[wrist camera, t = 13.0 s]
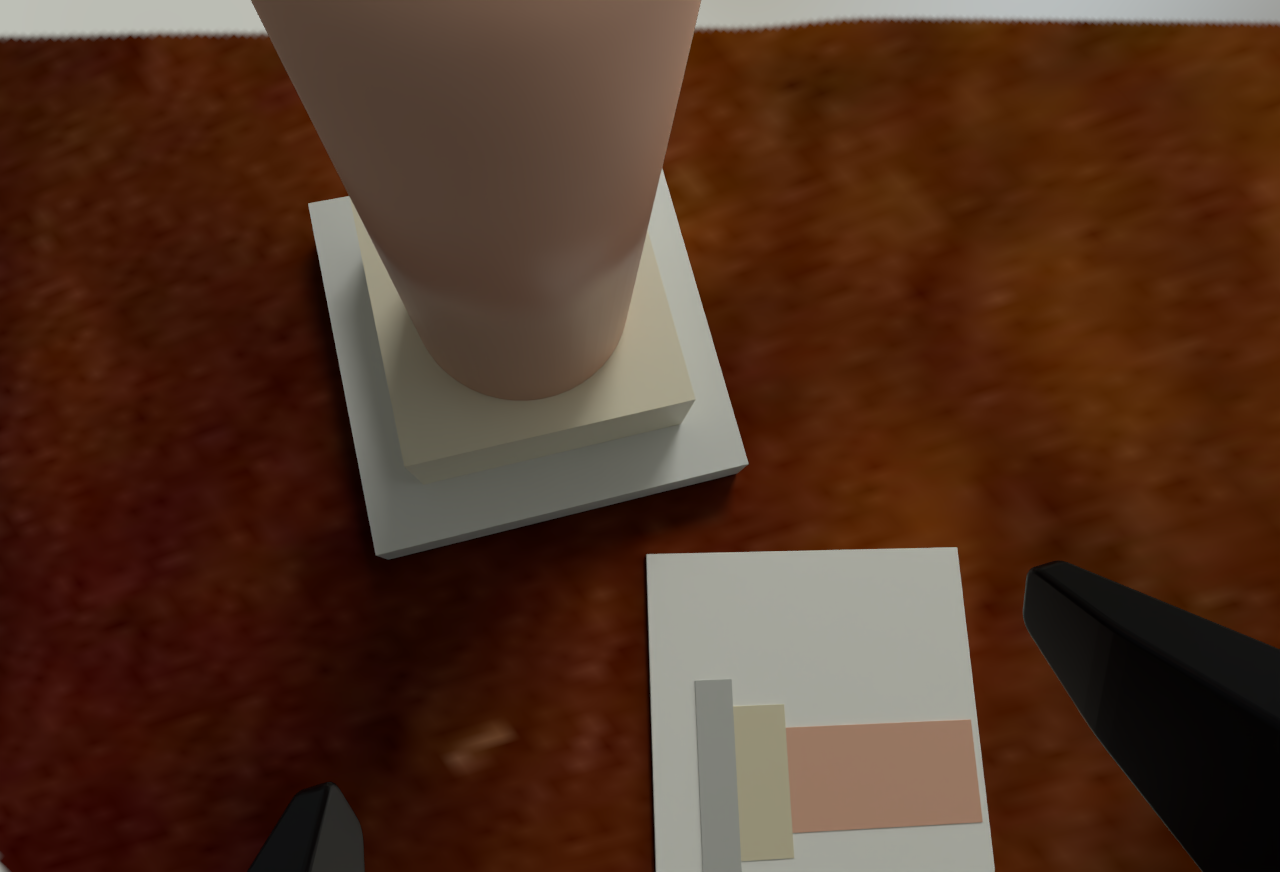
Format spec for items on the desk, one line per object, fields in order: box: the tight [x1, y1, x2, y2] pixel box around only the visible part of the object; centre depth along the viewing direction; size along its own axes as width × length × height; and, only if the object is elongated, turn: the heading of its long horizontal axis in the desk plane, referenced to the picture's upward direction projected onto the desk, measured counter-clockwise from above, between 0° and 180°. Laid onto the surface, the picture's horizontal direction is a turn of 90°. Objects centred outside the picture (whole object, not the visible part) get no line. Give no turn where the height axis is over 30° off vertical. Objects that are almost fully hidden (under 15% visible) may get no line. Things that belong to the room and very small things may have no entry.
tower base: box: [308, 169, 748, 560], centre depth 21 cm, size 10×10×4 cm
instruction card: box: [646, 547, 995, 872], centre depth 21 cm, size 12×9×1 cm
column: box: [251, 0, 701, 401], centre depth 14 cm, size 5×5×12 cm
